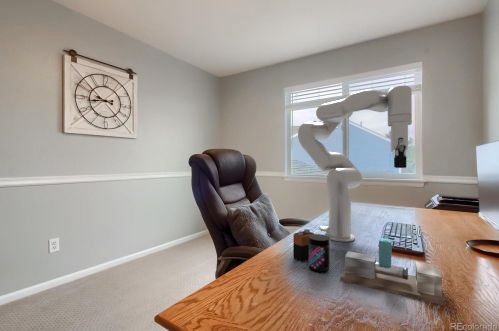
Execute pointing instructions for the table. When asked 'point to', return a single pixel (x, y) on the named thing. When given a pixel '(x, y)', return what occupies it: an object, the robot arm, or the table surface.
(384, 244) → the l-shaped stand
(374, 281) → the tube rig
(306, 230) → the battery
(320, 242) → the supplement container
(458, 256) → the table surface
